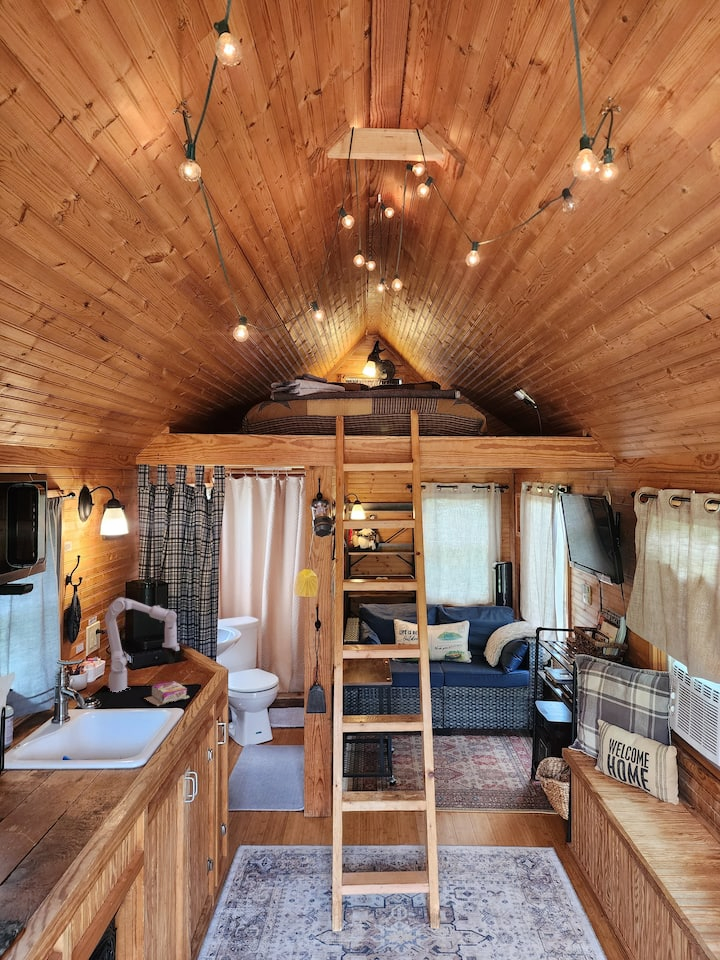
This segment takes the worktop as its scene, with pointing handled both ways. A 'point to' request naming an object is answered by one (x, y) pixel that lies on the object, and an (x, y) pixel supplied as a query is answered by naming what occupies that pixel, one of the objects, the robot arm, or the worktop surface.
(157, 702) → the mat
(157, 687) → the candy bar box
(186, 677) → the worktop surface
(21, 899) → the worktop surface
